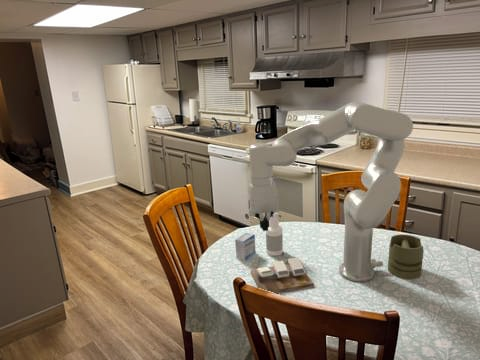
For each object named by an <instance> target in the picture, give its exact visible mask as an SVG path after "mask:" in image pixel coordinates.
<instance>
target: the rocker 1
mask: <svg viewBox="0 0 480 360" xmlns="http://www.w3.org/2000/svg"><path fill="white" fill-rule="evenodd" d="M268 267H269V266H265V267H264V266H263V267H258V268H256V269H257V272H258V273H259V274H260V275H261V276H262V277H265V276H271V275H273V272H272V271H271V270H270V269H269V268H268Z"/></svg>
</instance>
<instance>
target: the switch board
mask: <svg viewBox="0 0 480 360" xmlns="http://www.w3.org/2000/svg"><path fill="white" fill-rule="evenodd" d="M284 264H285V266H286V268H287V270H288V272H289V276H287V277H281V278H278V276H277V274H276V272H275V269H274V267H273V265H272V266H267V267H268V268H269V269H270V270H271V271H272V272H273V275H271V276H265V277H262V276H261V275H260V274H259V273H258V272H257V268H255V269H250V274H251V277H252V278H253V280H254V283H255V285H256V287H257V289H258V288H261V289H264V290H267V291H271V292H274V293H273V294H276V293H283V292H289V291H294V290H300V289H305V288H312V287H314V284H315V283H314V282H313V280H312V279H311V278H310V276H309V275H308V273H307V272H306V271H305V274H304V275H298V276H294V275H293V272H292V270H291V267H290V265H289V263H284Z"/></svg>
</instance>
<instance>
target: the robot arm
mask: <svg viewBox="0 0 480 360" xmlns="http://www.w3.org/2000/svg"><path fill="white" fill-rule="evenodd" d="M413 130H414V123H413V120H412V119H411V118H410V116H408V115H407V114H405V113H402V112H399V111H396V110H393V109H386V108H380V107H378V106H374V105H371V104H370V103H366V102H361V101H352V102H349V103H347V104H345V105H342V106H340V108H338V109H335V110H334V111H332V112H330V113H329V114H327V115H325V116H323V117H321V118H318V119H317V120H315V121H312V122H310V123H308V124H305V125H302V126H300V127H297V128H295V129H293V130H291V131H289V132H287V133H285V134H283V135H281V136H280V137H278V138H276V139H274V141H273V142H272V143H271V144H270V143H266V142H258V143H253V144H251V145H250V146H249V148H248V153H249V155H248V156H249V168H250V169H249V171H250V183H249V184H248V189H247V207H248V215H249V217H253V218H257V219H258V220H259V228H260V229H261V230H262V231H263V232H266V231H268V227H269V220H270V217H271V216H272V215H273V214H275V213H277V212H278V213H280V209H279V207H280V206H279V204H280V203H279V194H278V189H277V185H276V182H275V180H277V179H278V175H277V174H274V171H273V170H274V167H288V166H289V167H290V166H291V165H293V164H294V163H295V162H296V160H297V158H298V157H297V152H299V151H301V150H303V149H305V148H306V149H307V148H309V147H311V146H324V145H328V144H331V143H332V142H334V141H337V140H338V139H340V138H342V137H344V136H346V135H348V134H349V133H351V132H353V131H357V132H359V133H363V134H366V135H369V136H373V137H377V145H376V148H375V150H374V151H373V154H372V155H371V157H370V160H368V163H367V164H366V166H365V167H364V170H363V171H362V173H361V176H360V177H361V179H360V180H361V181H360V182H361V183H362V185H363V186H364V187H365V189H367V191H365V190H363V189H354V190H351V191H350V192H348V193H347V194H346V196H345V198H344V201H343V212H344V215H343V216H344V240H343V262H342V263H341V264H340V265H339V266H338V272H339V274H340V275H341V276H342V278H344V279H347V280H349V281H352V282H353V281H354V282H366V281H370V280H372V279H373V278H375V275H376V274H375V273H376V271H375V268H376V267H383V265H384V264H383V261H382V260H378V261H377V260H376V259H375V258H372V248H373V235H374V229H375V228H377V227H378V226H380V225H381V223H382V222H383V221H384V220H385V218H386V216H387V214H388V213H389V212H390V210H391V209H392V207H393V205H394V204H395V201H396V200H397V199H398V197H399V194H400V192H401V189H402V183H401V182H402V181H401V178H400V176H399V175H398V174H397V173H396V172H395V171H396V169H397V167H398V165H399V163H400V161H401V159H402V157H403V154H404V151H405V139H407V138H409V136H410V135H411V134H412V133H413ZM273 166H274V167H273ZM263 214H264V216H263Z"/></svg>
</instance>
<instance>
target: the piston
mask: <svg viewBox="0 0 480 360" xmlns="http://www.w3.org/2000/svg"><path fill="white" fill-rule="evenodd" d="M389 241H390V242H389V246H388V247H389V248H388V258H387V259H388V261H387V270H388V271H387V272H388V273H390V275H392V276H393V277H396V278H400V279H402V280H416V279H418V278H420V277H421V276H422V271H423V269H422V268H423V259H424V252H425V251H424V250H425V249H424V245H422V242H421V238H419V237H417V236H415V235H411V234H395V235H392V236H391V239H390V240H389Z"/></svg>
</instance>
